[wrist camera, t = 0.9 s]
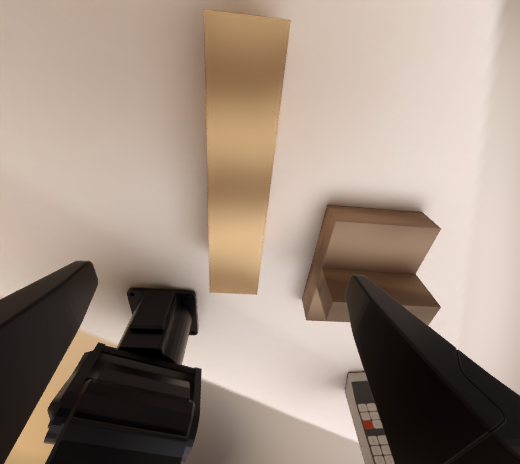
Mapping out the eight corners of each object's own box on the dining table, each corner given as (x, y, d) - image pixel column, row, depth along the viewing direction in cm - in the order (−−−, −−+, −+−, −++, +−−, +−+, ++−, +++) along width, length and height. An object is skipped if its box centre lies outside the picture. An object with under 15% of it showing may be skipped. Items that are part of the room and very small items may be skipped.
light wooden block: (256, 253, 23) (257, 294, 19) (217, 251, 23) (209, 292, 19) (279, 32, 15) (290, 20, 10) (218, 25, 14) (204, 9, 10)
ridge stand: (376, 303, 27) (404, 358, 22) (302, 300, 26) (313, 355, 21) (422, 212, 21) (475, 258, 16) (327, 205, 21) (351, 251, 16)
